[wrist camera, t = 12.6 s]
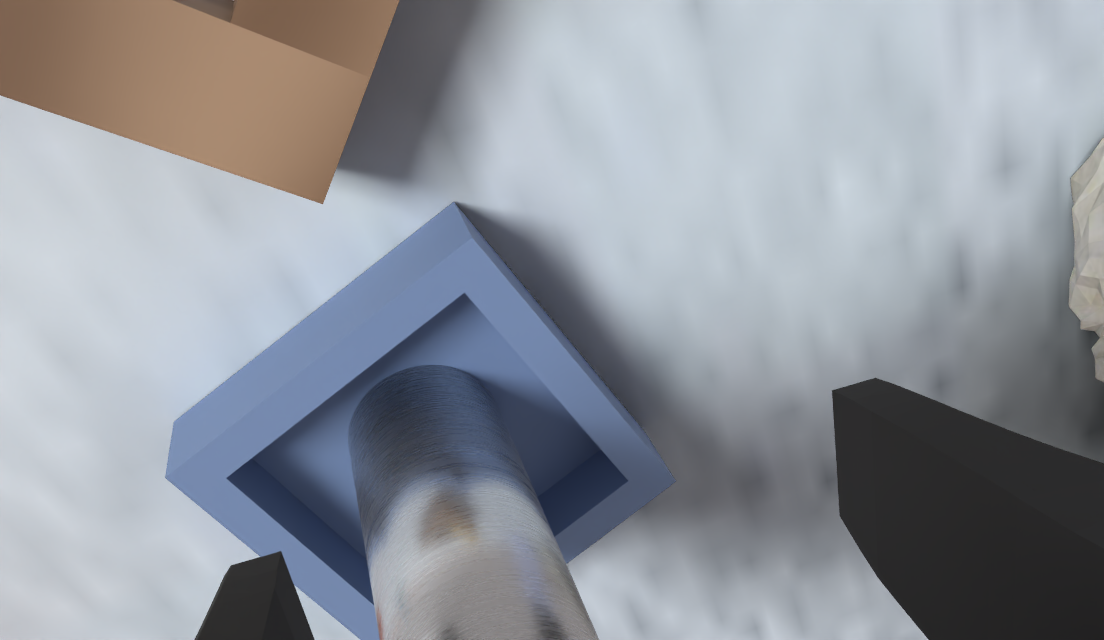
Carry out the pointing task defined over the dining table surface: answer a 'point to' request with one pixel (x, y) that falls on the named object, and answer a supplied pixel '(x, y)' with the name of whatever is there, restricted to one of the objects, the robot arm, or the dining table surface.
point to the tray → (374, 354)
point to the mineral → (1089, 251)
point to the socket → (204, 76)
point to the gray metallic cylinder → (454, 517)
